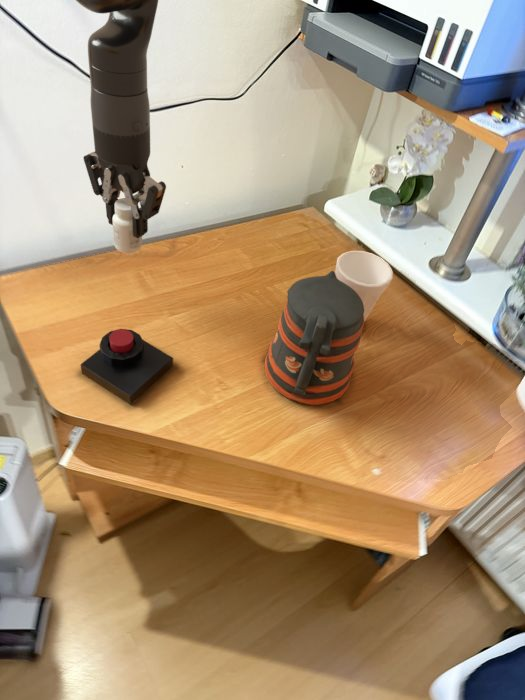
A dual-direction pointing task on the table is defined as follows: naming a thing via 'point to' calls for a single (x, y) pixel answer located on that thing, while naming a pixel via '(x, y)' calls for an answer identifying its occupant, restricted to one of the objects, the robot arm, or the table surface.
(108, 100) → the robot arm
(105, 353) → the push button housing
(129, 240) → the pill bottle
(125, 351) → the lid button
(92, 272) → the table surface
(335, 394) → the beer stein
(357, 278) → the cup
